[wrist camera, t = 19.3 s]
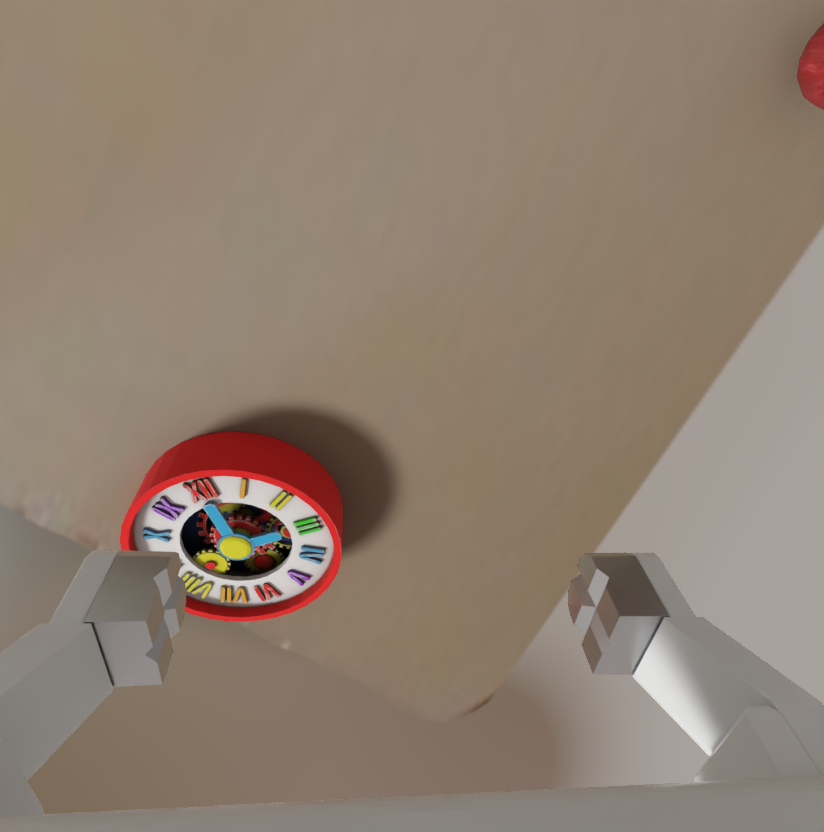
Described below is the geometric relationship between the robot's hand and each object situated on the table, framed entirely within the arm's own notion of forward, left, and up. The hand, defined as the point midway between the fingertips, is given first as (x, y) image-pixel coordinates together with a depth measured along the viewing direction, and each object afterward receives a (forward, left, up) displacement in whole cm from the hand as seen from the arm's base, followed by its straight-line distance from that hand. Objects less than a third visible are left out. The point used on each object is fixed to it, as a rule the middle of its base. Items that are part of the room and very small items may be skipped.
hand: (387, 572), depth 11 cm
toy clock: (+14, -30, -36) cm, 48 cm away
